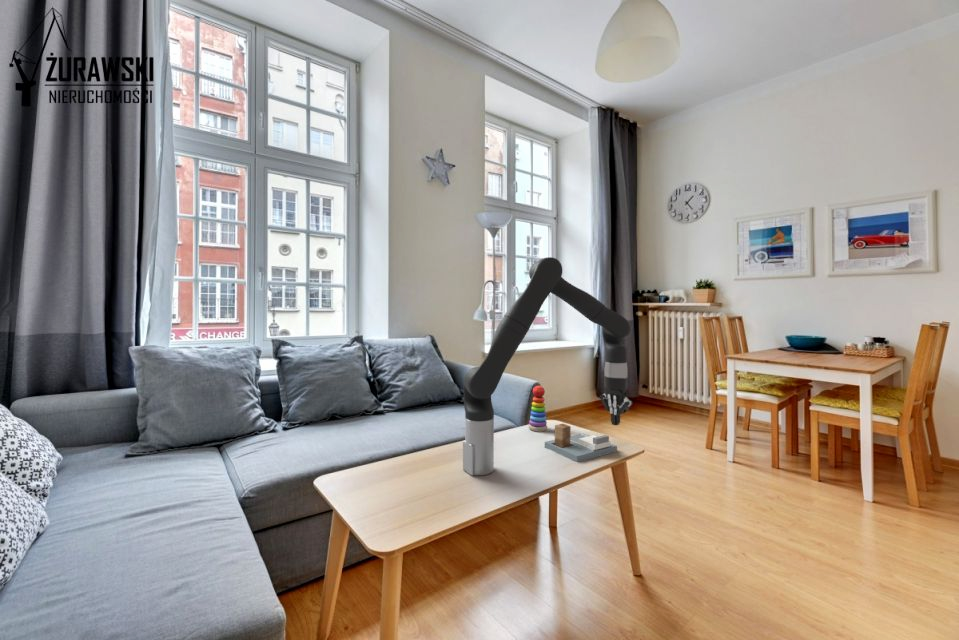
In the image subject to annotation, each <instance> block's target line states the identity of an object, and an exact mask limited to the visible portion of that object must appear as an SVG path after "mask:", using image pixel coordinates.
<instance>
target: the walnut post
mask: <svg viewBox="0 0 959 640" xmlns="http://www.w3.org/2000/svg"><path fill="white" fill-rule="evenodd" d="M571 427H572V426H571V425H567V424H565V423H561V424H560V423H559V424H555V425H554V440H555V445H556V446H558V447H560V448H565V447H569V446H570V437H571V436H572V435H571Z"/></svg>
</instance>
